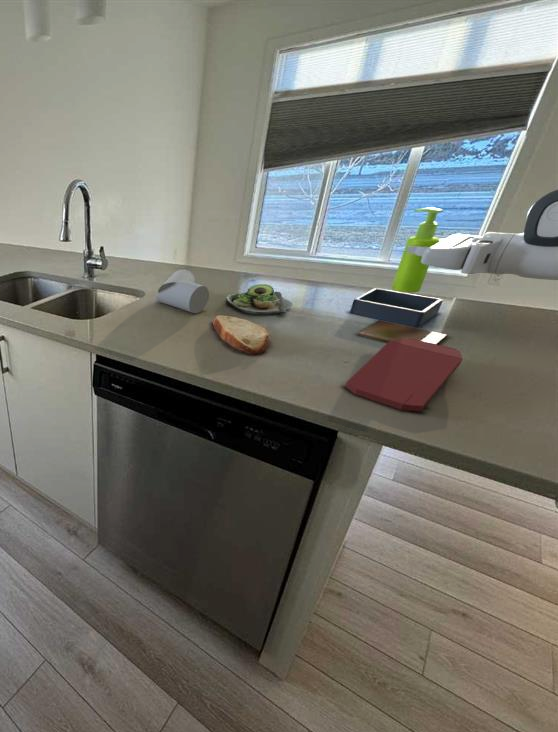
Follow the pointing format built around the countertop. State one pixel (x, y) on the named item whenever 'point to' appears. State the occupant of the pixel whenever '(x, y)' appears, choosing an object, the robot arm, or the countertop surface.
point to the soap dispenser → (410, 264)
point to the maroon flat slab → (405, 373)
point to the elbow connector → (183, 292)
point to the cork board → (400, 333)
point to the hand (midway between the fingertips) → (413, 246)
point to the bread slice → (242, 334)
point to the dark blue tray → (407, 311)
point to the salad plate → (259, 301)
